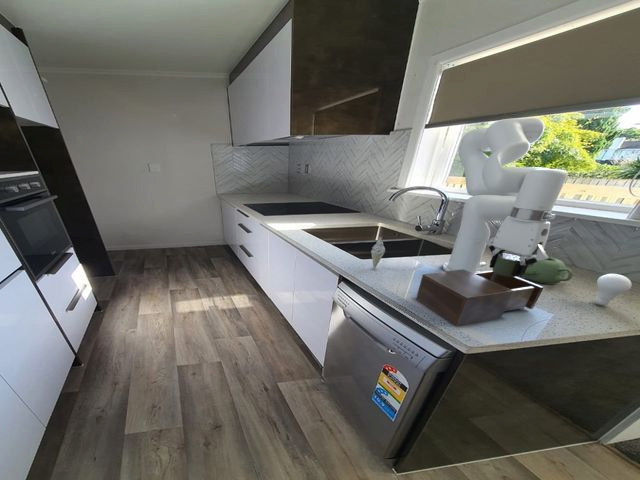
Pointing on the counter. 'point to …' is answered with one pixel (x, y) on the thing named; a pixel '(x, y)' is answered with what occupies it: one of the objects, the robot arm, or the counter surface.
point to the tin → (506, 264)
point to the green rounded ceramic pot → (547, 271)
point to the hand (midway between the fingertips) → (505, 270)
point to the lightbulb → (611, 287)
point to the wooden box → (463, 296)
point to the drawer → (516, 290)
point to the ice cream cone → (377, 252)
